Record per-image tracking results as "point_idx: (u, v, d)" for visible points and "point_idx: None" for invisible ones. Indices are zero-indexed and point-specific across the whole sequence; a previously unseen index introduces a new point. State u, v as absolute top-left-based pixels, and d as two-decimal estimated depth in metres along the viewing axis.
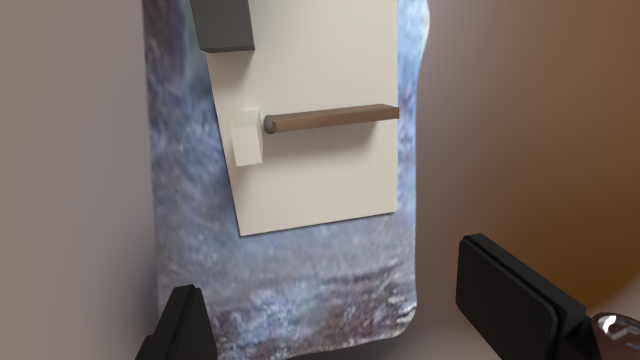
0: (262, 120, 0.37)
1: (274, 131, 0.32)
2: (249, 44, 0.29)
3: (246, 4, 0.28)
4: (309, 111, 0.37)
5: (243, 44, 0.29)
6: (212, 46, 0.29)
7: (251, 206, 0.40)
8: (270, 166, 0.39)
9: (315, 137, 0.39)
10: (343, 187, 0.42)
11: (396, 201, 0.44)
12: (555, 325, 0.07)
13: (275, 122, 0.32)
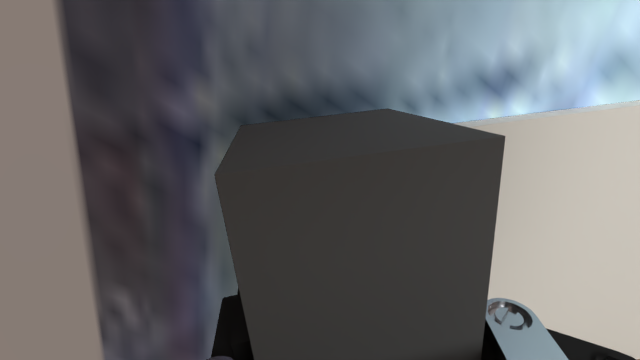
0: None
1: None
2: None
3: (478, 335, 0.07)
4: None
5: None
6: None
7: None
8: None
9: None
10: None
11: None
12: None
13: None
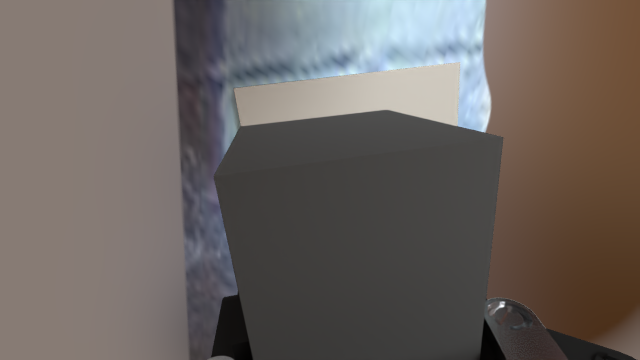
0: None
1: None
2: None
3: (477, 336, 0.07)
4: None
5: None
6: None
7: None
8: None
9: None
10: None
11: None
12: None
13: None
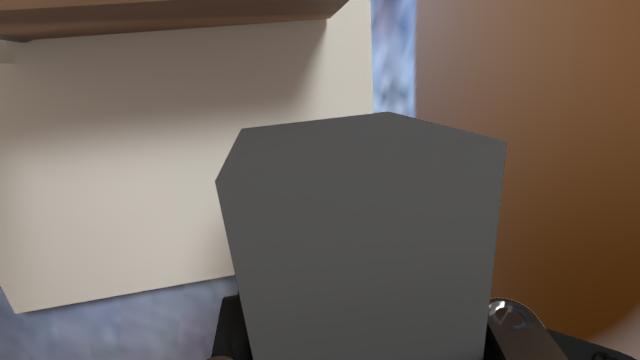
0: None
1: None
2: None
3: (480, 340, 0.07)
4: None
5: None
6: None
7: (26, 249, 0.17)
8: (54, 152, 0.16)
9: (165, 77, 0.15)
10: None
11: None
12: None
13: None
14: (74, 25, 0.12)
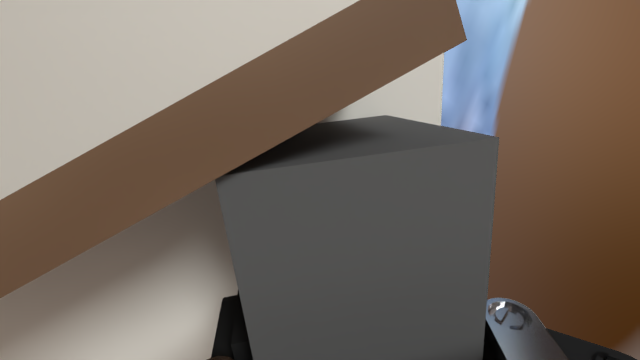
0: None
1: None
2: None
3: (479, 338, 0.07)
4: None
5: None
6: None
7: None
8: None
9: (166, 288, 0.12)
10: None
11: None
12: None
13: None
14: None
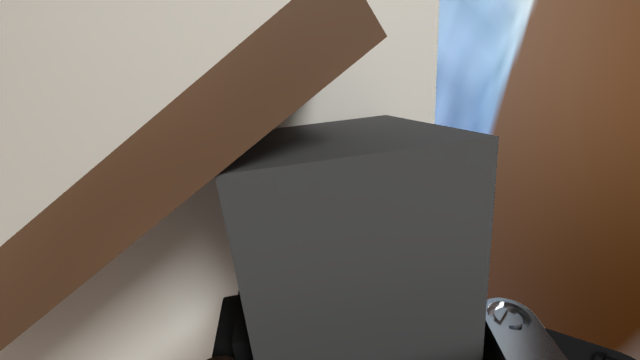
0: None
1: None
2: None
3: (479, 337, 0.07)
4: None
5: None
6: None
7: None
8: None
9: (176, 329, 0.12)
10: None
11: None
12: None
13: None
14: None
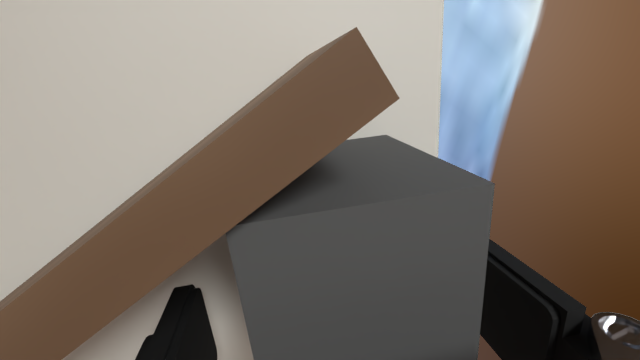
0: None
1: None
2: None
3: None
4: None
5: None
6: None
7: None
8: None
9: None
10: None
11: None
12: (555, 325, 0.07)
13: None
14: None
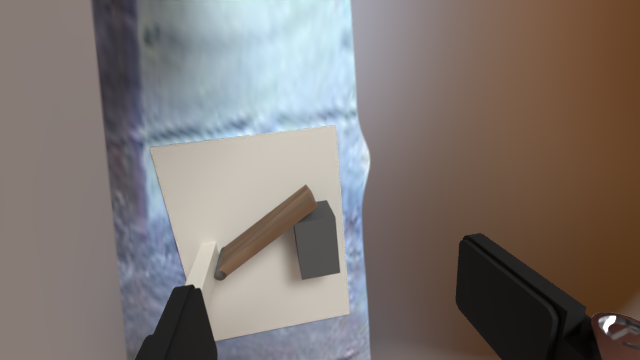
0: (219, 250, 0.41)
1: (225, 276, 0.36)
2: (337, 272, 0.39)
3: (337, 249, 0.38)
4: (251, 226, 0.40)
5: (333, 273, 0.39)
6: (311, 277, 0.39)
7: (213, 319, 0.44)
8: (228, 286, 0.43)
9: (269, 260, 0.43)
10: (297, 298, 0.46)
11: (348, 306, 0.48)
12: (555, 325, 0.07)
13: (221, 270, 0.36)
14: None
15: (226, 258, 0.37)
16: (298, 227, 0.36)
